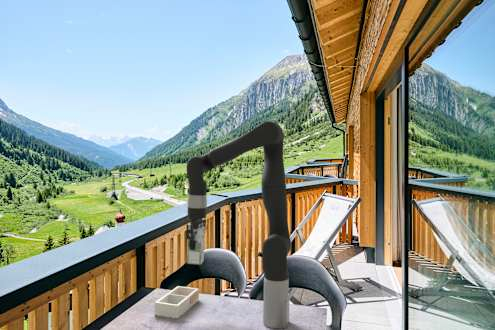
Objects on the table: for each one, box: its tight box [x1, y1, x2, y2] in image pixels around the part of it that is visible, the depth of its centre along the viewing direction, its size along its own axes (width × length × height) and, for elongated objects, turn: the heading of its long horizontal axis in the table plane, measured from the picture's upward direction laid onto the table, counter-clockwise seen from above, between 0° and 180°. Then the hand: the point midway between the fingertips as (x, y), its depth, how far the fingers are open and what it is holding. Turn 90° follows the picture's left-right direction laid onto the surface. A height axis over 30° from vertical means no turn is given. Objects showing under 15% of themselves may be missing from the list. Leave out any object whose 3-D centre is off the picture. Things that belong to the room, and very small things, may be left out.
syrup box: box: [186, 226, 206, 266], centre depth 145 cm, size 6×6×14 cm
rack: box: [154, 285, 200, 319], centre depth 148 cm, size 10×19×5 cm, turn 163°
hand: (195, 247), depth 145 cm, fingers closed on syrup box, 6 cm apart
